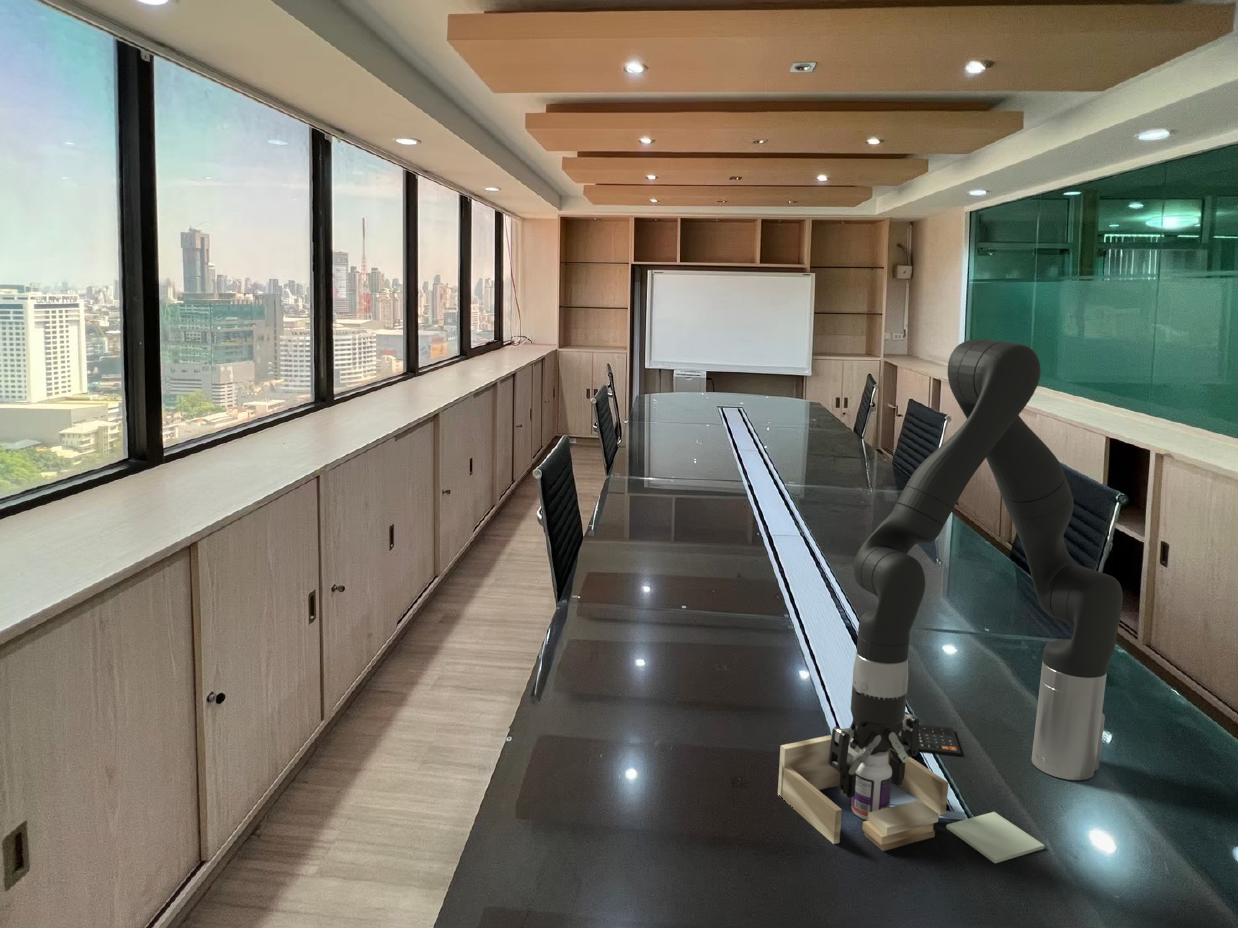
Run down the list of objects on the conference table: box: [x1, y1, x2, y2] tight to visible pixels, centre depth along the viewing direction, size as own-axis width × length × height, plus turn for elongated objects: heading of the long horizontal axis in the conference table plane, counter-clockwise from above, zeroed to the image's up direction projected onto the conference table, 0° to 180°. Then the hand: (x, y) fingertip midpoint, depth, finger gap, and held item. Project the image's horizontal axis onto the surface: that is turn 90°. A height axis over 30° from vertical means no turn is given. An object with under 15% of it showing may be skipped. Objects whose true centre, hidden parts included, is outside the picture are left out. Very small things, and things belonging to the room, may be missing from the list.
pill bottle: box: [850, 749, 892, 821], centre depth 134 cm, size 5×5×10 cm
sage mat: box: [945, 811, 1045, 864], centre depth 129 cm, size 9×9×1 cm
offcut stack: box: [862, 799, 940, 852], centre depth 129 cm, size 10×4×4 cm, turn 114°
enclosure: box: [777, 734, 950, 845], centre depth 136 cm, size 20×14×8 cm
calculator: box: [897, 723, 962, 757], centre depth 158 cm, size 9×12×3 cm
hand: (871, 788), depth 134 cm, fingers open, 8 cm apart
